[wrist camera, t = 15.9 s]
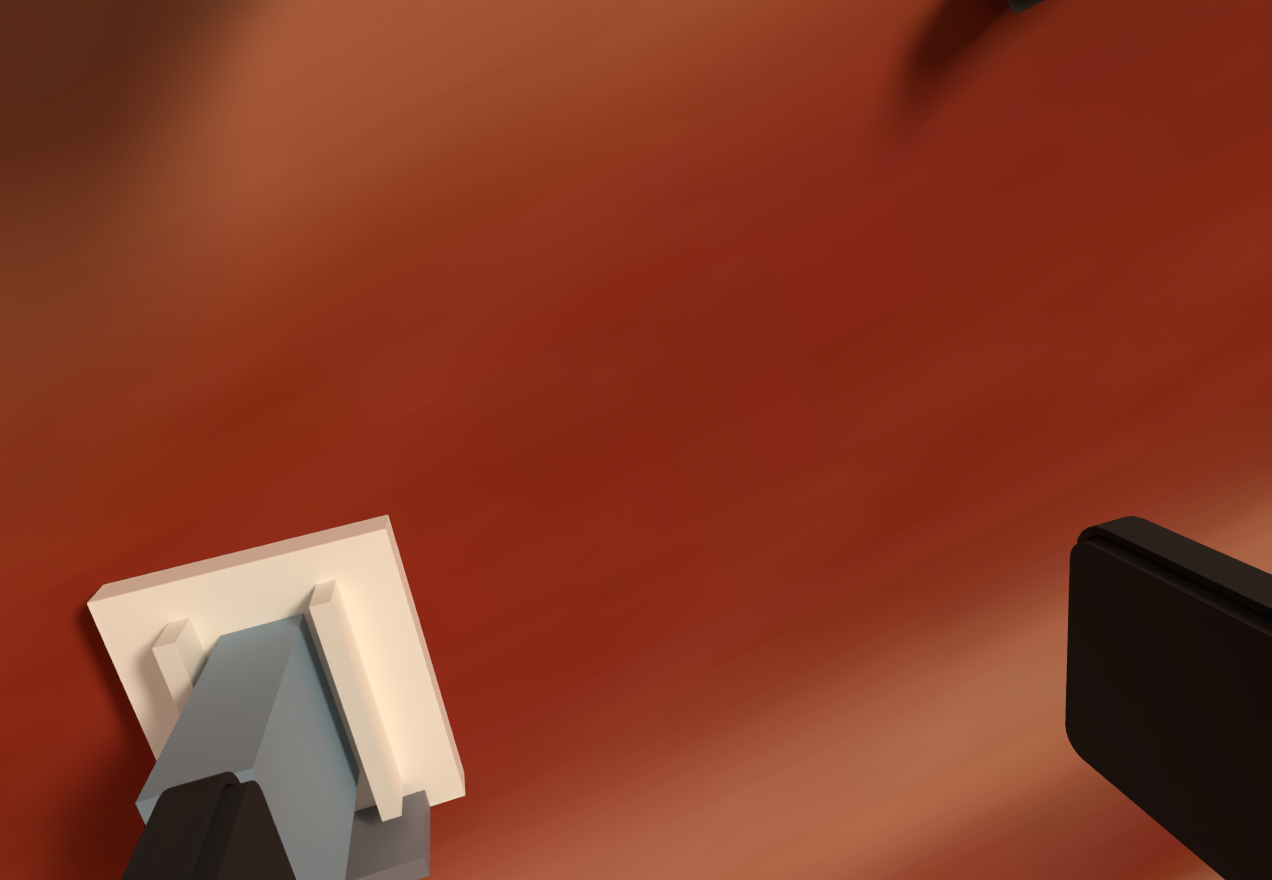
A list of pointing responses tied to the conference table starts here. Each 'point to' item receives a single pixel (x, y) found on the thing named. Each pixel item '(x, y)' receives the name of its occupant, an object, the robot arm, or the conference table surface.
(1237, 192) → the conference table surface
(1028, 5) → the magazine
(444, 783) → the cream railed panel
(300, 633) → the gray rectangular block
